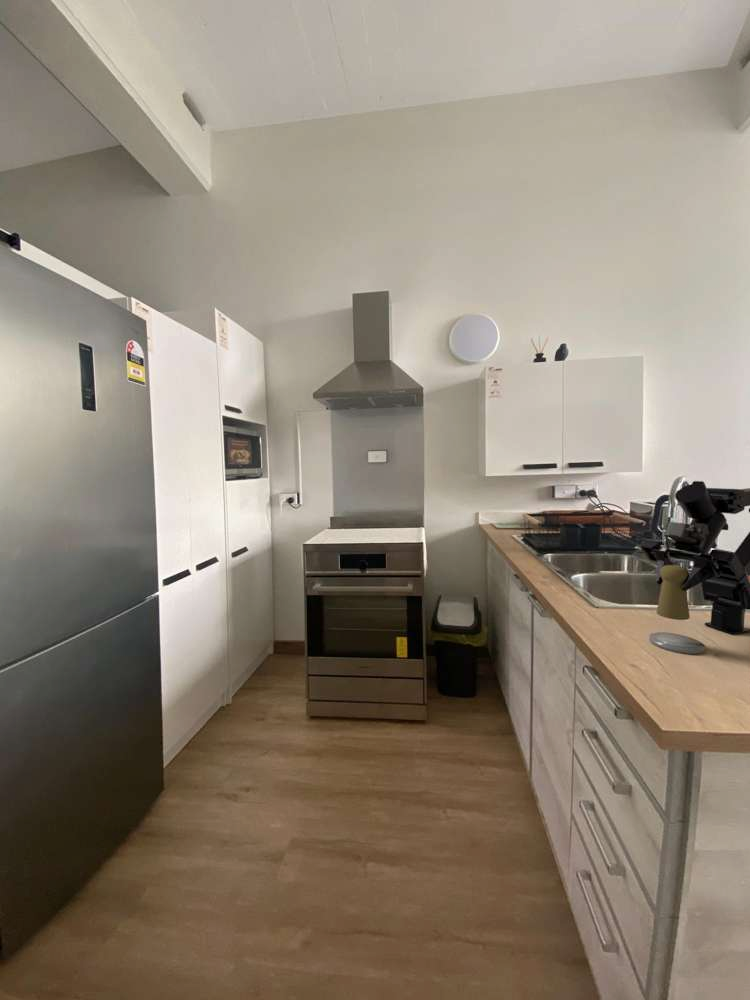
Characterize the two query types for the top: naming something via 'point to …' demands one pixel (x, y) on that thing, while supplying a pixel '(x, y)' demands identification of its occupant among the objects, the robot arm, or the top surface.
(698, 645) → the coaster
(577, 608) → the top surface
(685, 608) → the cork
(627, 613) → the top surface
